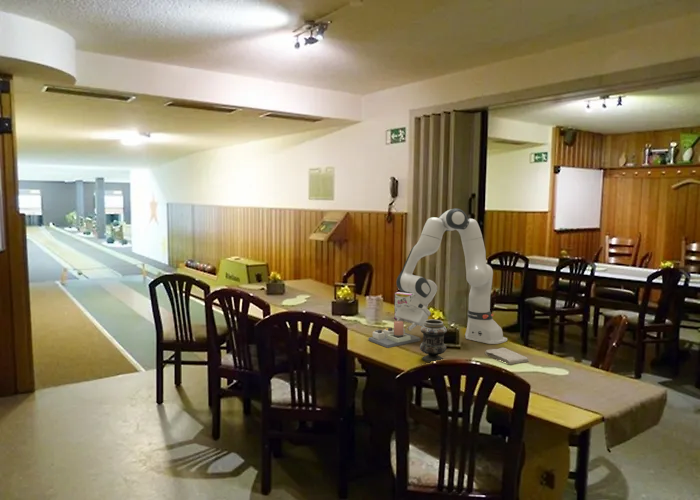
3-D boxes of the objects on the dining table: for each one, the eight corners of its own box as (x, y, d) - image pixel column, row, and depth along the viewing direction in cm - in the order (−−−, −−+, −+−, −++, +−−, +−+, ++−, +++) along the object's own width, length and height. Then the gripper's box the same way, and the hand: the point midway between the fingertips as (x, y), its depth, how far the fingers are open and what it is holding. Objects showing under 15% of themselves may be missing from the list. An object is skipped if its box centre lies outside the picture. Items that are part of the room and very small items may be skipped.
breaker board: (420, 340, 262) (420, 329, 261) (387, 347, 250) (387, 336, 249) (400, 333, 275) (400, 323, 275) (368, 340, 263) (368, 329, 262)
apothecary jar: (451, 361, 229) (452, 322, 227) (429, 365, 224) (430, 325, 222) (436, 354, 240) (436, 317, 238) (414, 357, 235) (415, 319, 233)
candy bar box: (394, 319, 309) (394, 293, 307) (397, 317, 313) (397, 291, 311) (410, 321, 303) (410, 294, 301) (414, 319, 307) (414, 293, 305)
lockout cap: (405, 339, 259) (405, 322, 258) (398, 340, 256) (398, 323, 255) (399, 337, 263) (399, 320, 262) (391, 338, 260) (391, 321, 259)
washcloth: (502, 351, 244) (502, 345, 244) (529, 362, 228) (529, 356, 228) (482, 355, 239) (483, 348, 239) (509, 366, 223) (509, 359, 223)
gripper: (400, 300, 271) (386, 320, 267) (426, 306, 255) (412, 328, 250) (407, 307, 274) (393, 327, 270) (433, 314, 258) (419, 335, 253)
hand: (402, 328), depth 260 cm, fingers open, 8 cm apart
